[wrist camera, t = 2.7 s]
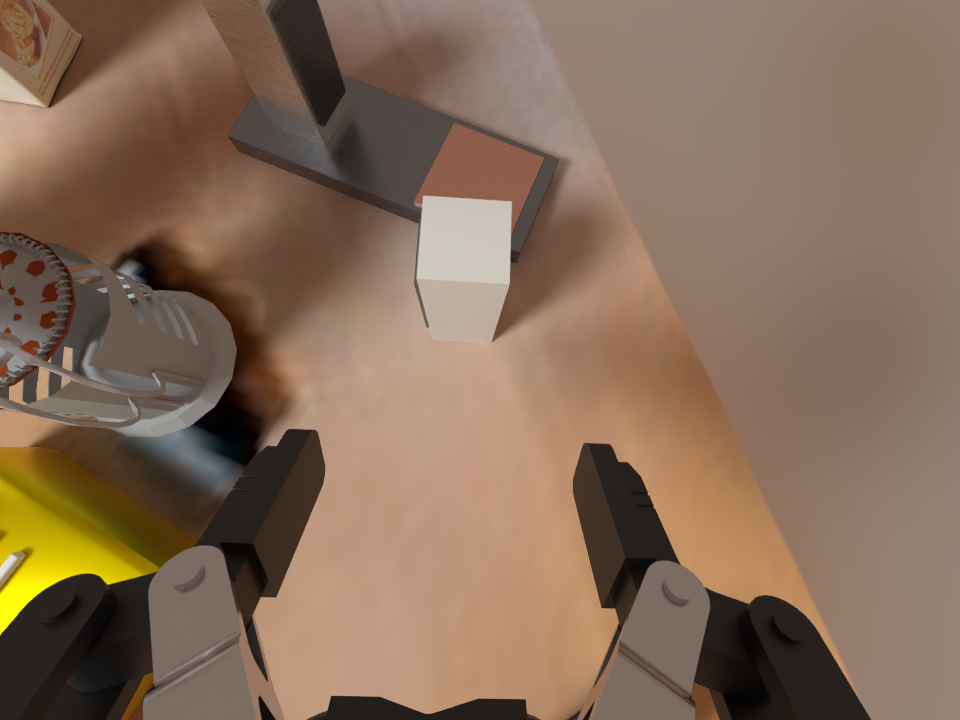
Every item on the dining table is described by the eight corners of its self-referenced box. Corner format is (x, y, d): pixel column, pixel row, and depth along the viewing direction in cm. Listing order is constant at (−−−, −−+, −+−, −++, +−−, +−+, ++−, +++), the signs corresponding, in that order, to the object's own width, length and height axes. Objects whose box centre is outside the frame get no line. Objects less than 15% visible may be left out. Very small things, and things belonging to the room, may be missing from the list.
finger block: (428, 339, 26) (409, 278, 17) (431, 284, 27) (416, 195, 17) (491, 342, 26) (509, 284, 17) (493, 287, 27) (511, 201, 18)
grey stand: (239, 151, 29) (96, -38, 17) (291, 70, 30) (192, -150, 19) (516, 262, 28) (554, 139, 17) (554, 173, 30) (611, 7, 18)
